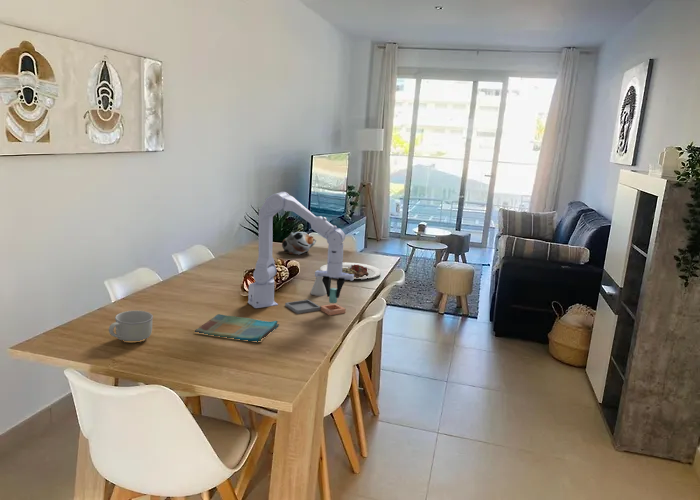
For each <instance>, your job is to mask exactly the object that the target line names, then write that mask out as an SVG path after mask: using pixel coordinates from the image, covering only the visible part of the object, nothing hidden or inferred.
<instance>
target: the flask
mask: <svg viewBox="0 0 700 500" xmlns="http://www.w3.org/2000/svg"><path fill="white" fill-rule="evenodd" d="M316 270H317V271H323V270H320V269H316ZM322 279H323V277H319V276H318V277H315V280H314V283H313V285H312V288H311V290H310V295H313V296H316V297H321V296H327V292H326V288H325V285H324V283H323V281H322Z"/></svg>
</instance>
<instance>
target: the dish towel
mask: <svg viewBox="0 0 700 500" xmlns="http://www.w3.org/2000/svg"><path fill="white" fill-rule="evenodd" d="M279 325H280V324H279V323H278V320H274V321H273V320H272V321H265V320H259V319H256V318H255V319H254V318H249V317H240V316H235V315H234V316H233V315H226V314H216V315H215V316H213V317H212V318H210V319H209V320H208V321H206V322H205V323H204V324H202V325H201V326H199V327H198V328H196V329H194V332H199V333H204V334H208V335H214V336H220V337H227V338H234V339H240V340H248V341H257V342H258V341H261V339H262V338H264V337H266V336H267V335H268V334H269V333H270V332H272V331H273V330H274V329H275V330H277V328H278V327H279ZM275 330H274V331H275ZM274 331H273V332H274ZM273 332H272V333H273ZM267 337H268V336H267ZM267 337H266V338H267Z"/></svg>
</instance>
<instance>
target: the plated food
mask: <svg viewBox="0 0 700 500" xmlns="http://www.w3.org/2000/svg"><path fill="white" fill-rule="evenodd" d="M348 267H350V268H348ZM367 269H368V270H371V271H372V272H374V275H373V276H371V277H366V278H359V277H363V276H364V275H366V276H368V275H369V273H368V272H367ZM319 270H323V271H327V263H326V264H324V265H321V266H320V268H319ZM342 272H343V273H348V274H354V277H356V278H354V279H361V280H368V279H373V278H377V277H379V276H380V275H382V271H381V269H380V268H378V267H376V266H374V265H369V264H366V263H357V262H346V261H345V262H343V266H342ZM367 278H368V279H367Z"/></svg>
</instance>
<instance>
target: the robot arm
mask: <svg viewBox="0 0 700 500" xmlns="http://www.w3.org/2000/svg"><path fill="white" fill-rule="evenodd" d="M282 210H283V212H285V211H286V212H293V213H295V214H296V215H298V217H299V216H300V218H302V219H303V220H305V221H306V222H308V223H309V224H310V228H311V230H313V231H314V232H316V233H317V234H318V235H319V236H320V237H322V238H323V239H325V240H326V242H327V244H328V245H327V246H328V247H327V248H328V249H327V263H326V264H327V271H317V270H318V269H316V270H315V271H314V277H315V278H316V277H318V276H319V277H323V279H322V281H323V283H324V285H325V288H326V292H327V294H326V297H327V298H329V292H330V288H331V284H332V279H337V280H336V289H337V295H336V298H337V299H339V298H340V296H341V295H340V294H341V291H342V288H343V286H344V284H345V282H346V281H347V280H349V281H351V282H352V281H355V280H354V274H348V273H343V272H342V266H343V261H344V242H345V239H346V233H345V232H344V230H343V229H342V228H339V227H337V225H334V224H332V223H331V222H329V221H328V220H327V219H328V218H327V217H325V216H324V217H323V216H322V215H320V216H316V215H315V214H314V213H313V212H311V211H310V210H309V209H308V208H306V206H304V205H303V203H301V202H299V200H297V199H296V197H294V196H292V195H290V194H289V193H288V192H286V191H280V192H277V193H272V194H270V195H269V196H268V197H266V198H265V199H264V202H263V204H262V206H260V209H259V210H258V258H257V261H256V263H255V269H254V271H253V273H252V274H253V279H254V282H252V283H249V285H248V295H247V297H248V301H247V303H248V304H249V305H250V306H252V307H253V308H254V309H262V308H268V307H272V306H273V307H274V306H278V305H279V303H277V302H276V301H275V279H274V277H275V276H276V275H277V267H276V265H275V259H274V257H273V238H274V237H273V235H274V234H273V230H274V229H273V223H274V222H273V221H274V216H275V215H276V214H278V213H279V212H280V211H282Z"/></svg>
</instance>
